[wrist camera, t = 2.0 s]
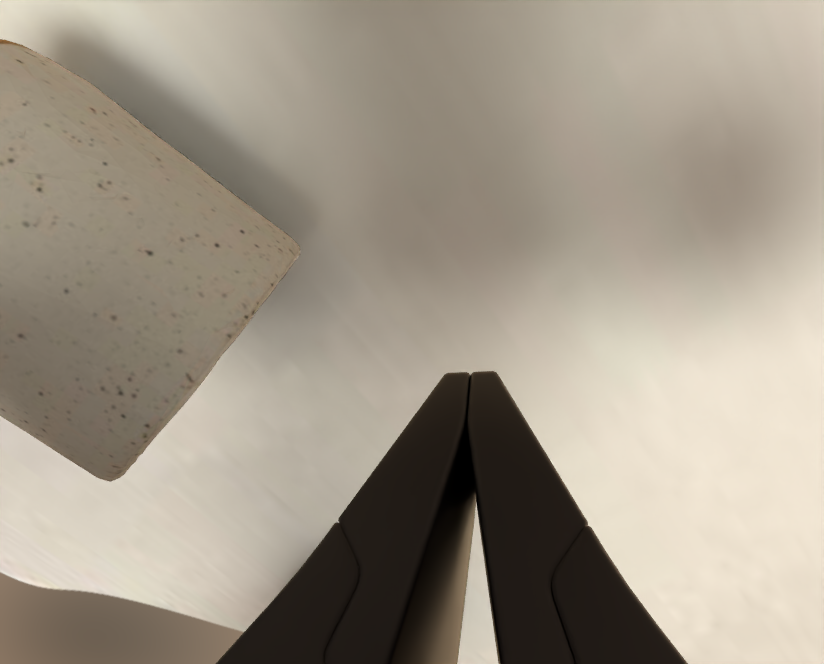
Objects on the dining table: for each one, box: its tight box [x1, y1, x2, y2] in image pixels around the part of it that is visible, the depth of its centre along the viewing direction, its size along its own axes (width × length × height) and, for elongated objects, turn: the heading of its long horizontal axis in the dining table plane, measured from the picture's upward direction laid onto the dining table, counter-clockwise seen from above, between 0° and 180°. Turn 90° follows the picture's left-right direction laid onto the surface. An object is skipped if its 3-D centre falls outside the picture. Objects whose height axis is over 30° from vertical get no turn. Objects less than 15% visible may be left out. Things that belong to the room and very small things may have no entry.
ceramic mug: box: [0, 39, 300, 481], centre depth 14 cm, size 11×8×8 cm
